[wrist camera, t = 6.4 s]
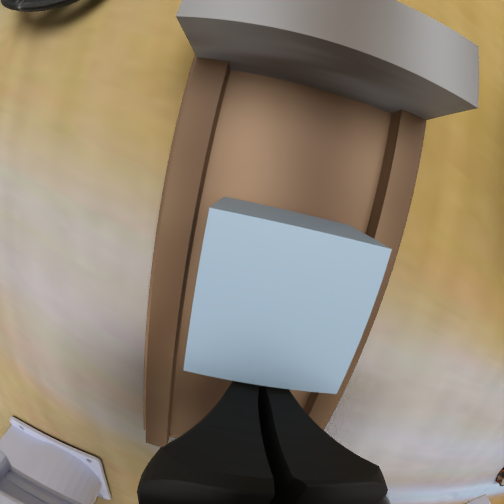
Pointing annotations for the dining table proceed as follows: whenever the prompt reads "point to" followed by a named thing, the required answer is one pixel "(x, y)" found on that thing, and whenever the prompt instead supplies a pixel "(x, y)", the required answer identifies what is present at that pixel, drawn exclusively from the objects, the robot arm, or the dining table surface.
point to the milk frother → (35, 4)
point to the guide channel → (292, 151)
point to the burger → (501, 478)
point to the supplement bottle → (385, 501)
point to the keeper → (281, 297)
